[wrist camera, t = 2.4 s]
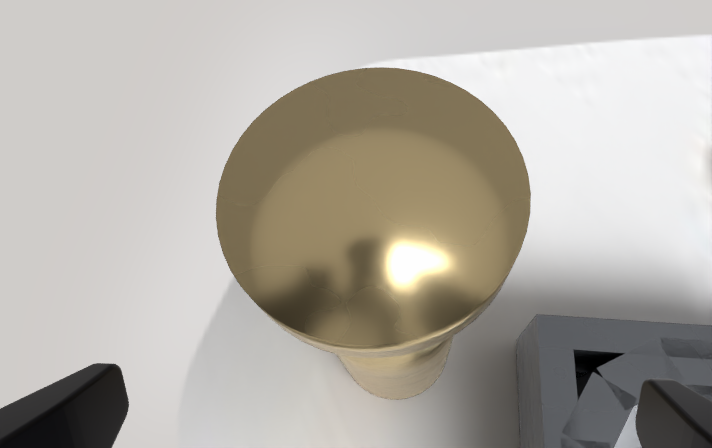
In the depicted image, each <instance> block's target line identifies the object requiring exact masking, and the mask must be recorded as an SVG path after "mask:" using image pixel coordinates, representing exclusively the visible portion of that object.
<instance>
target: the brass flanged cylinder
mask: <svg viewBox="0 0 712 448" xmlns="http://www.w3.org/2000/svg"><path fill="white" fill-rule="evenodd" d="M530 196H531V193H530V185H529V178H528V173H527V169H526V166H525V163H524V159H523V156H522V154H521V152H520V150H519V148H518V146H517V143H516V141H515V140H514V138H513V137H512V135H511V133H510V132H509V130H508V129H507V127H506V126H505V125H504V123H503V122H502V121H501V120H500V119H499V118H498V117H497V115H496V114H495V113H494V112H493V111H492V110H491V109H489V108H488V107H487V106H486V105H485V104H484V103H483V102H482V101H480V100H479V99H478V98H476V97H475V96H473V95H472V94H470V93H469V92H467V91H466V90H464V89H462V88H460V87H458V86H456V85H454V84H453V83H451V82H448V81H446V80H443V79H440V78H438V77H435V76H432V75H429V74H425V73H421V72H417V71H412V70H405V69H399V68H362V69H355V70H349V71H343V72H340V73H335V74H332V75H328V76H325V77H322V78H319V79H316V80H314V81H311V82H309V83H307V84H305V85H303V86H301V87H298V88H297V89H295V90H293V91H291V92H290V93H288V94H286V95H285V96H283V97H281V98H280V99H278V100H277V101H276V102H275V103H273V104H272V105H271V106H270V107H268V108H267V109H266V110H265V111H263V112H262V113H261V114H260V115H259V117H257V118H256V119H255V120H254V121H253V122H252V123H251V125H250V126H249V127H248V128H247V130H246V131H245V132H244V133H243V135H242V136H241V137H240V139H239V141H238V142H237V144H236V145H235V147H234V148H233V150H232V152H231V154H230V156H229V158H228V161H227V163H226V165H225V167H224V171H223V174H222V177H221V180H220V183H219V189H218V196H217V203H216V205H217V206H216V221H217V229H218V237H219V240H220V244H221V248H222V251H223V254H224V256H225V259H226V261H227V263H228V266H229V268H230V270H231V272H232V273H233V275H234V276H235V278H236V279H237V281H238V283H239V284H240V286H241V287H242V288H243V289H244V290H245V292H246V293H247V294H248V295H249V296H250V297H251V298H252V300H253V301H254V302H255V303H256V304H257V305H258V306H259V307H260V308H261V309H262V310H263V311H264V312H265V313H266V314H267V315H268V316H269V317H270V318H271V319H272V320H273V321H274V322H275V323H277V324H278V325H279V326H280V327H281V328H283V329H284V330H285V331H286V332H288V333H290V334H291V335H293V336H294V337H296V338H298V339H299V340H301V341H303V342H305V343H307V344H309V345H312V346H314V347H316V348H318V349H321V350H324V351H328V352H331V353H335V354H337V356H338V357H339V359H340V360H341V362H342V363H343V364H344V366H345V367H346V369H347V370H348V372H349V373H350V374H351V376H352V377H353V379H354V380H355V381H356V382H357V383H358V384H359V385H360V386H361V387H362V388H363V389H365V390H366V391H368V392H369V393H371V394H373V395H376V396H378V397H381V398H385V399H396V400H399V399H406V398H410V397H413V396H416V395H418V394H420V393H422V392H423V391H425V390H426V389H428V388H429V387H430V386H431V385H432V384H433V383H434V382H435V381H436V380H437V378H438V377H439V376H440V374H441V372H442V370H443V368H444V365H445V363H446V360H447V356H448V353H449V350H450V346H451V343H452V339H453V336H454V335H455V334H457V333H458V332H460V331H461V330H462V329H464V328H465V327H466V326H468V325H469V324H470V323H472V322H473V321H474V320H475V319H476V318H477V317H478V316H479V315H480V314H481V313H482V312H483V311H484V310H485V309H486V308H487V307H488V306H489V305H490V303H491V302H492V301H493V299H494V298H495V296H496V295H497V294H498V292H499V291H500V290H501V288H502V286H503V284H504V282H505V280H506V278H507V276H508V274H509V272H510V270H511V268H512V266H513V264H514V262H515V260H516V258H517V256H518V254H519V252H520V250H521V247H522V244H523V241H524V238H525V235H526V232H527V227H528V221H529V216H530Z"/></svg>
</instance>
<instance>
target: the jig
mask: <svg viewBox="0 0 712 448" xmlns="http://www.w3.org/2000/svg"><path fill="white" fill-rule="evenodd" d="M516 345H517V371H518V398H519V425H520V448H614V446H615V444H616V442H617V440H618V437H619V435H620V433H621V431H622V429H623V427H624V425H625V423H626V421H627V419H628V417H629V415H630V412H631V410H632V408H633V406H635V405H637V404H638V403H639V398H640V392H641V387H642V384H643V382H644V381H645V380H646V379H649V378H655V379H673V380H675V381H677V382H679V383H681V384H682V385H684V386H686V387H688V388H689V389H691V390H693V391H695V392H696V393H698V394H700V395H702V396H703V397H705V398H707V399H708V400H710V401H712V326H706V325H691V324H676V323H660V322H645V321H630V320H614V319H599V318H584V317H568V316H553V315H538V314H537V315H536V316H535V317H534V319H533V320H532V321H531V322H530V324H529V325H528V326H527V327H526V329H525V330H524V331H523V332H522V333H521V335H520V336H519V337H518V338H517V340H516ZM575 372H582V373H586V374H585V375H583V376H581V377H579V378H577V379H576V373H575Z"/></svg>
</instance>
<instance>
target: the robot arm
mask: <svg viewBox="0 0 712 448" xmlns="http://www.w3.org/2000/svg"><path fill="white" fill-rule="evenodd" d="M128 407H129V402H128V397H127V392H126V388H125V383H124V380H123V375H122V371H121V369H120V367H119V366H118V365H116V364H101V363H97V364H93V365H90V366H88V367H86V368H84V369H82V370H80V371H78V372H76V373H74V374H72V375H70V376H67V377H65V378H63V379H61V380H59V381H57V382H55V383H53V384H51V385H49V386H47V387H44V388H43V389H40V390H38V391H36V392H34V393H32V394H30V395H28V396H26V397H24V398H21V399H19V400H17V401H15V402H13V403H11V404H9V405H7V406H5V407H3V408H1V409H0V448H112V446H113V444H114V441H115V440H116V437H117V435H118V433H119V431H120V429H121V426H122V424H123V422H124V420H125V418H126V415H127V412H128ZM636 431H637V435H638V438H639V441H640V443H641V446H642V448H712V401H710V400H708V399H707V398H705V397H703V396H702V395H700V394H698V393H696V392H695V391H693V390H691V389H689V388H688V387H686V386H684V385H682V384H681V383H679V382H677V381H675V380H673V379H655V378H649V379H646V380H645V381H644V382H643V384H642V387H641V392H640V398H639V403H638V409H637V415H636Z"/></svg>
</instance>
